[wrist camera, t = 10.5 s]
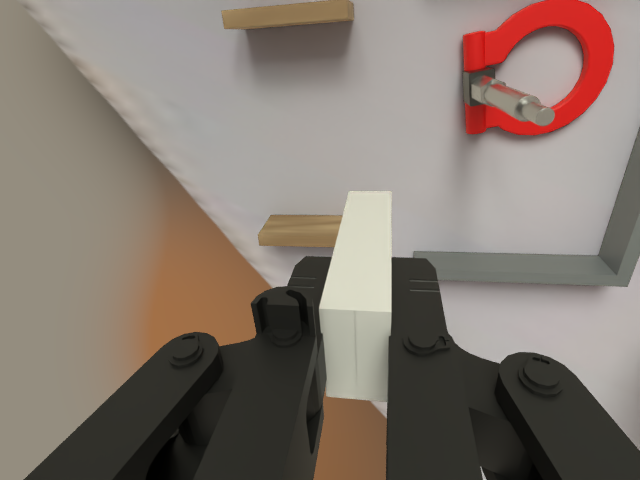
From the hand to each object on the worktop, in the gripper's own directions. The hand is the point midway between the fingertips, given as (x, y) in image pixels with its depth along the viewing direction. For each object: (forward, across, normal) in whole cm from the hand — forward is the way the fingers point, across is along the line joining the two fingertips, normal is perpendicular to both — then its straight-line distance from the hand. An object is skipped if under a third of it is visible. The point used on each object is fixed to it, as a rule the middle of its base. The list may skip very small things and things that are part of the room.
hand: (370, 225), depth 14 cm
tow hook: (+18, +10, +3) cm, 21 cm away
